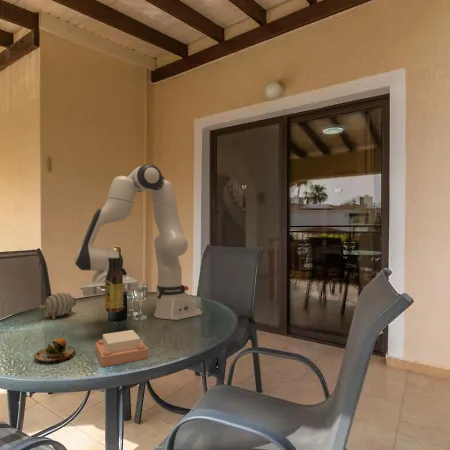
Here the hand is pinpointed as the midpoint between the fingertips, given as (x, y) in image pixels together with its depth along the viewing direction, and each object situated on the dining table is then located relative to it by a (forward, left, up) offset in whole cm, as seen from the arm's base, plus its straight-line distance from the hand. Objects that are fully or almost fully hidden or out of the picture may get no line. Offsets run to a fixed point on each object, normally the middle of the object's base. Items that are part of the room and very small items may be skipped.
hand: (114, 290), depth 119 cm
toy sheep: (+16, -45, -19) cm, 51 cm away
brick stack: (0, +13, -19) cm, 23 cm away
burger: (+19, +5, -19) cm, 28 cm away
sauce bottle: (0, -1, -8) cm, 8 cm away
